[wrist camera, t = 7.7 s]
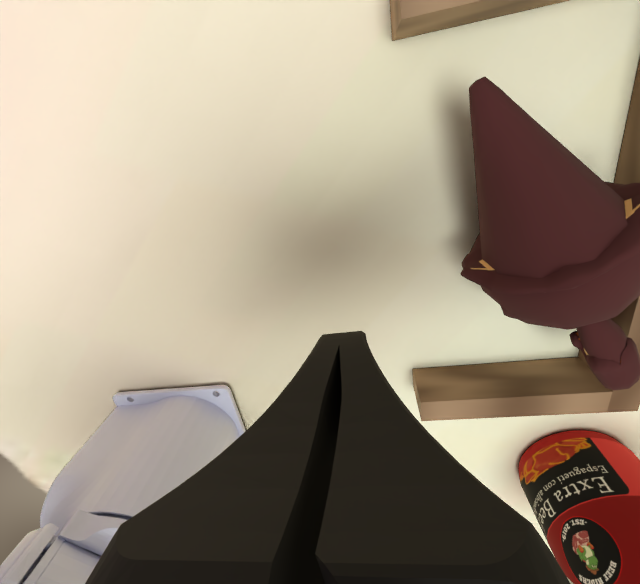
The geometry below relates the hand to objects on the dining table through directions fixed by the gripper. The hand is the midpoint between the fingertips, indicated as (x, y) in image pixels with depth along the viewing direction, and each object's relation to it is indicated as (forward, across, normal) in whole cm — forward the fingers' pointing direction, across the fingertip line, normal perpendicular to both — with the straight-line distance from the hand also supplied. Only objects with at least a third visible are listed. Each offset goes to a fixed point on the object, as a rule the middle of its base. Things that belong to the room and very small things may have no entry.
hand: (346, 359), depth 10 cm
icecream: (+10, -9, 0) cm, 13 cm away
